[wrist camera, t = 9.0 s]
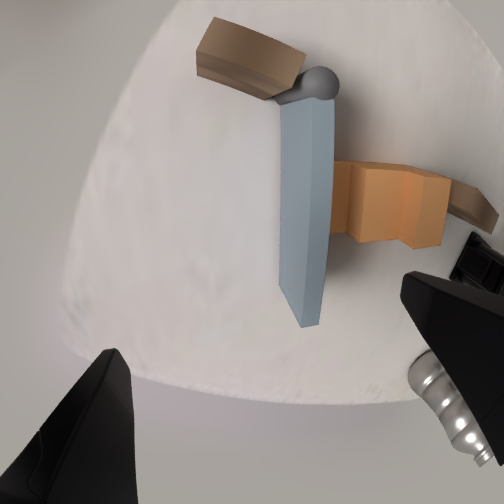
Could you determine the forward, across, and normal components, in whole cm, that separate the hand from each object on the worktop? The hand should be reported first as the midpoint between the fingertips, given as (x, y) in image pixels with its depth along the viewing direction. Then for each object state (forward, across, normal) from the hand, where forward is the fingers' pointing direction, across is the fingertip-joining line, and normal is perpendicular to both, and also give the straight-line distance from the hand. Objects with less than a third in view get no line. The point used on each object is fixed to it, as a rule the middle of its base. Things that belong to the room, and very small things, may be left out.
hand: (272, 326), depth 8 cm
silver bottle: (+12, -24, +27) cm, 38 cm away
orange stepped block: (+13, -10, +1) cm, 16 cm away
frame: (+13, -11, -3) cm, 17 cm away
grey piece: (+13, -5, 0) cm, 13 cm away
